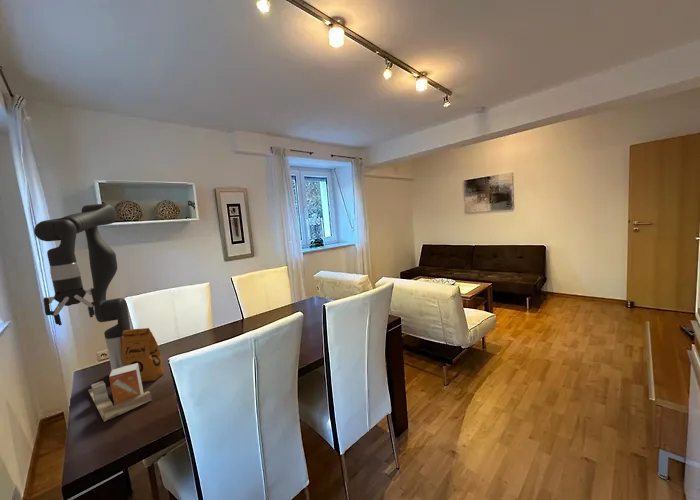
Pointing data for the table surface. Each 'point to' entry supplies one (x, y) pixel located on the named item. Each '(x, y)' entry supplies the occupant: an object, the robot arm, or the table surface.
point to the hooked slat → (105, 404)
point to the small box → (125, 383)
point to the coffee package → (142, 353)
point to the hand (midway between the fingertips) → (76, 320)
